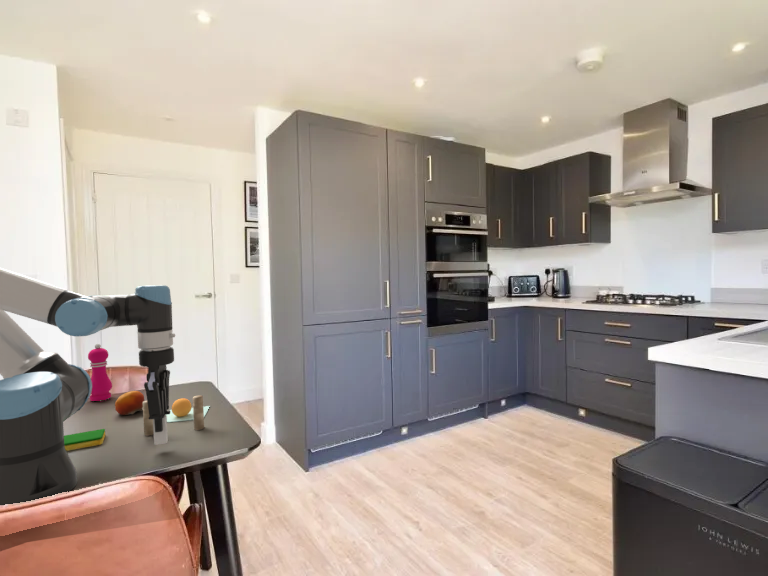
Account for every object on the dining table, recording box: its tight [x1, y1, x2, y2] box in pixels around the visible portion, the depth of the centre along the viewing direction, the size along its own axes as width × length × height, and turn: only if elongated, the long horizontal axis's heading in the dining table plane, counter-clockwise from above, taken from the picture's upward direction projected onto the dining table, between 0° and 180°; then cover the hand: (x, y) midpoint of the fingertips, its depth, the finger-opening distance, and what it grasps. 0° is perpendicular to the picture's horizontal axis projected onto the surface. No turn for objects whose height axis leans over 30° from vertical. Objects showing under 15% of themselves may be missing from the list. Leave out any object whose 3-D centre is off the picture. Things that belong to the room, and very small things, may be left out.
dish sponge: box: [64, 428, 106, 452], centre depth 106 cm, size 7×14×2 cm, turn 118°
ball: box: [171, 397, 193, 417], centre depth 126 cm, size 6×6×6 cm
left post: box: [142, 400, 154, 437], centre depth 112 cm, size 3×3×9 cm
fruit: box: [114, 390, 145, 416], centre depth 131 cm, size 8×8×8 cm
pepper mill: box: [87, 343, 113, 402], centre depth 146 cm, size 7×7×20 cm
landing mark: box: [167, 405, 211, 424], centre depth 128 cm, size 12×12×1 cm
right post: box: [192, 394, 205, 431], centre depth 115 cm, size 3×3×9 cm
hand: (161, 442), depth 101 cm, fingers closed
